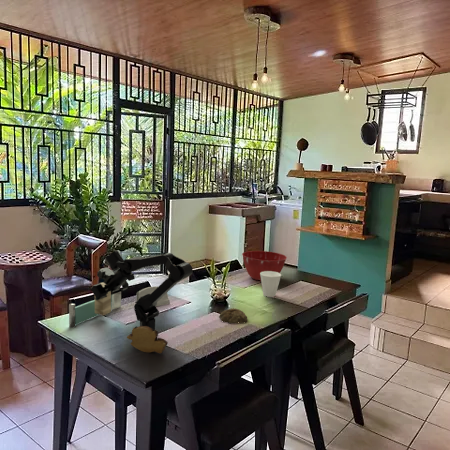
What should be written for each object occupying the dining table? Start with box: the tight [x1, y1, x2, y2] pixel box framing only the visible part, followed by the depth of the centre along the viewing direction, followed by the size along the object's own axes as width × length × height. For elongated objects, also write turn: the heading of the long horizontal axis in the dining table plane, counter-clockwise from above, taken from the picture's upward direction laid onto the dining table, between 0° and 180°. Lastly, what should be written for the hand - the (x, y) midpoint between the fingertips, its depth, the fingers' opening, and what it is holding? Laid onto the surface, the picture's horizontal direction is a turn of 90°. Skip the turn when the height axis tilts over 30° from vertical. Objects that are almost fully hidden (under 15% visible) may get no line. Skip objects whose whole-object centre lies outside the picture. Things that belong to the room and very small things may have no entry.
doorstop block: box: [94, 281, 112, 316], centre depth 183 cm, size 5×5×13 cm
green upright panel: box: [75, 295, 113, 326], centre depth 185 cm, size 22×2×8 cm, turn 153°
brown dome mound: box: [219, 307, 248, 324], centre depth 192 cm, size 13×12×5 cm
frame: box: [68, 291, 122, 329], centre depth 187 cm, size 31×2×10 cm, turn 153°
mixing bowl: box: [241, 250, 288, 282], centre depth 262 cm, size 28×28×16 cm
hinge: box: [136, 285, 171, 307], centre depth 207 cm, size 17×5×10 cm, turn 127°
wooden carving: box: [126, 325, 169, 354], centre depth 155 cm, size 16×5×10 cm, turn 75°
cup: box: [260, 271, 282, 298], centre depth 229 cm, size 12×12×12 cm
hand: (100, 297), depth 183 cm, fingers closed on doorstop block, 5 cm apart
